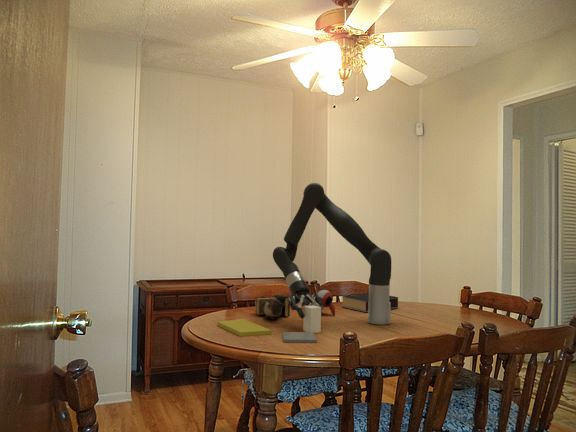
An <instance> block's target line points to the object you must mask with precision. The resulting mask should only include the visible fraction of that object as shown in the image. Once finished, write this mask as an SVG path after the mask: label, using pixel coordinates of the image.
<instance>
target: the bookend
mask: <svg viewBox="0 0 576 432" xmlns="http://www.w3.org/2000/svg"><path fill="white" fill-rule="evenodd" d="M289 296H290V295H289ZM289 296H288V295H282V294H274V295H273V297H266V296H262V295H260V297H259V298H256V299H255V300H254V304H255V314H256V315H264V318H266V319H268V320H275V319H276V320H277V319H278V318H279V317H280V316H283V317H286V316H287V317H290V315H291V314H290V311H291V310H290V309H291V306H290V304H289V301H288V298H289Z"/></svg>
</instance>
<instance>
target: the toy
mask: <svg viewBox="0 0 576 432" xmlns="http://www.w3.org/2000/svg"><path fill="white" fill-rule="evenodd" d="M316 294H317V295H318V297H319V298H320V300H321V302H322V306H321V311H322V312H323V310H324V309H325V308H329V310H330V312H331V314H332V316H333V317H335V316H336V308H335V305H334V304H333V300H334V296H333V294H332V292H330V291H329V290H327V289H322V290H319V291H318V292H317V293H316ZM318 303H319V302H318ZM311 304H312V301H311ZM314 305H315V304H314ZM315 306H316V305H315Z"/></svg>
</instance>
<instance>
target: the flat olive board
mask: <svg viewBox="0 0 576 432" xmlns="http://www.w3.org/2000/svg"><path fill="white" fill-rule="evenodd" d="M217 326H218V327H219V328H221V329H224V330H226V331H228V332H230V333H233V334H235V335H237V336H239V337H240V338H241V337H252V336H253V337H256V336H270V335H272V329H269V328H268V327H264V326H262V325H259V324H257V323H254V322H252V321H250V320H247V319H244V318H240V319H239V318H238V319H231V320H221V321H217Z"/></svg>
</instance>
